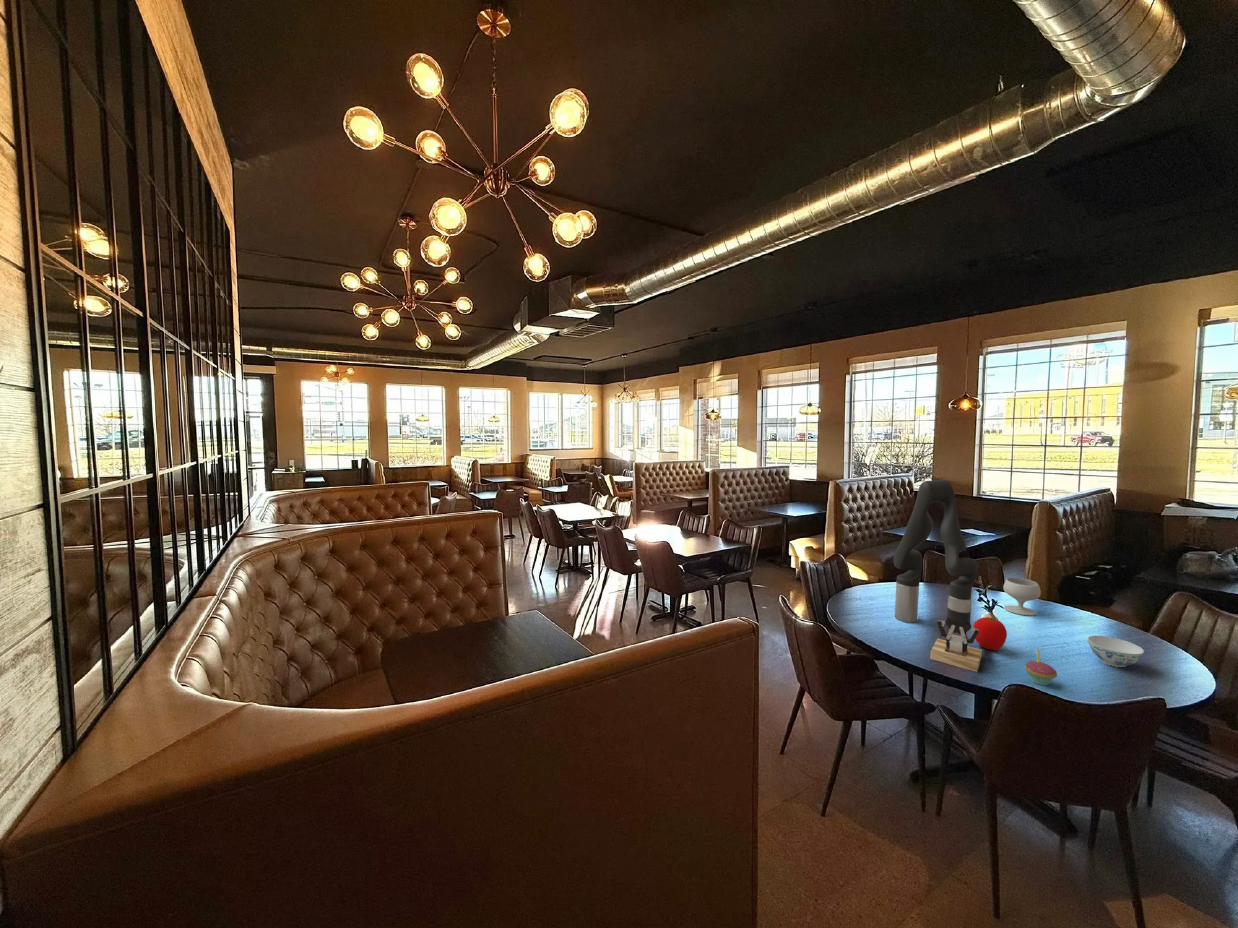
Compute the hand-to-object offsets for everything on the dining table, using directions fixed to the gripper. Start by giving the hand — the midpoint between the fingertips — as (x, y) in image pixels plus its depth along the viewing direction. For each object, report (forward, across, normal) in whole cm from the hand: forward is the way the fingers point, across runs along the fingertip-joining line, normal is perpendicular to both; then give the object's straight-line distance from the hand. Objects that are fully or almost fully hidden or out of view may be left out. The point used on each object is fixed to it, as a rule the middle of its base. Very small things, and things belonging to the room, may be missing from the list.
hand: (956, 649), depth 189 cm
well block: (+3, 0, 0) cm, 3 cm away
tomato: (+4, -9, -19) cm, 21 cm away
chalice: (+4, -17, -76) cm, 78 cm away
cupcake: (+4, -25, +1) cm, 25 cm away
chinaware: (+4, -46, -35) cm, 58 cm away
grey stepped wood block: (+3, 0, 0) cm, 3 cm away
